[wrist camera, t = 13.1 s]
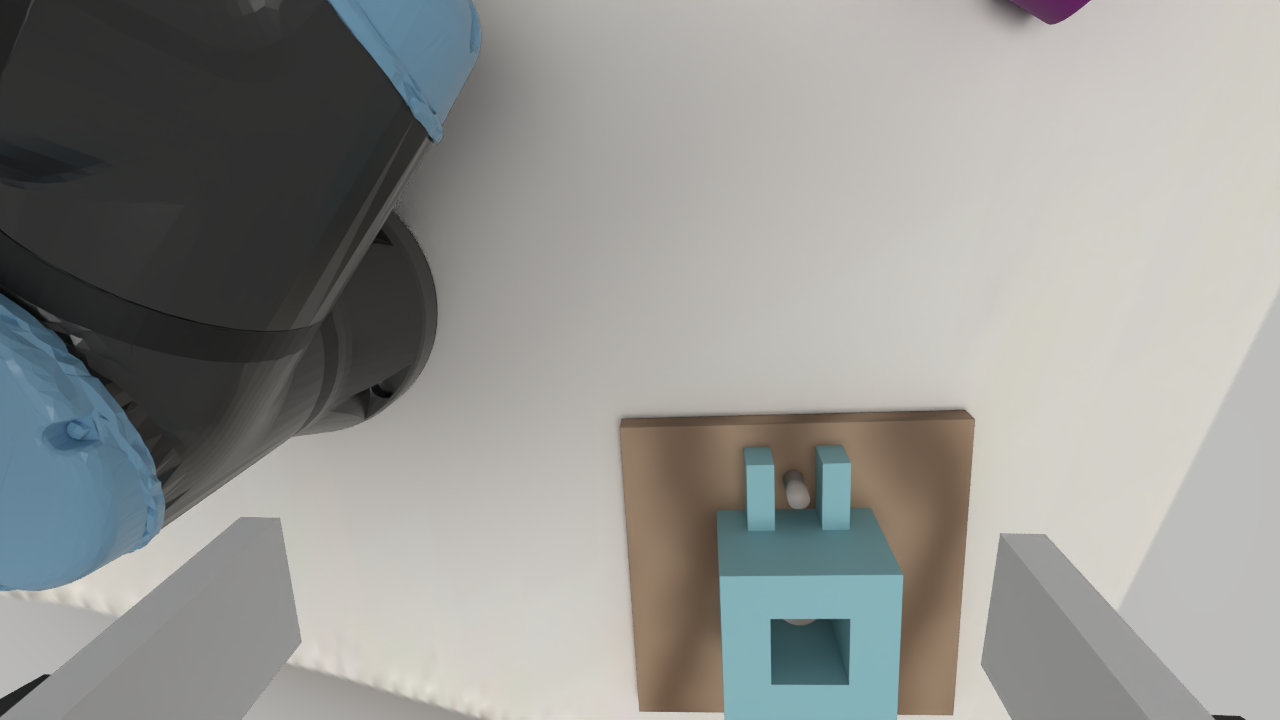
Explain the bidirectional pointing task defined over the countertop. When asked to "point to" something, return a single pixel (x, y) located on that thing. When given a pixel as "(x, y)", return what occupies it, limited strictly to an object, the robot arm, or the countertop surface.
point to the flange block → (807, 602)
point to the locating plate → (714, 480)
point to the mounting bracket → (1051, 8)
